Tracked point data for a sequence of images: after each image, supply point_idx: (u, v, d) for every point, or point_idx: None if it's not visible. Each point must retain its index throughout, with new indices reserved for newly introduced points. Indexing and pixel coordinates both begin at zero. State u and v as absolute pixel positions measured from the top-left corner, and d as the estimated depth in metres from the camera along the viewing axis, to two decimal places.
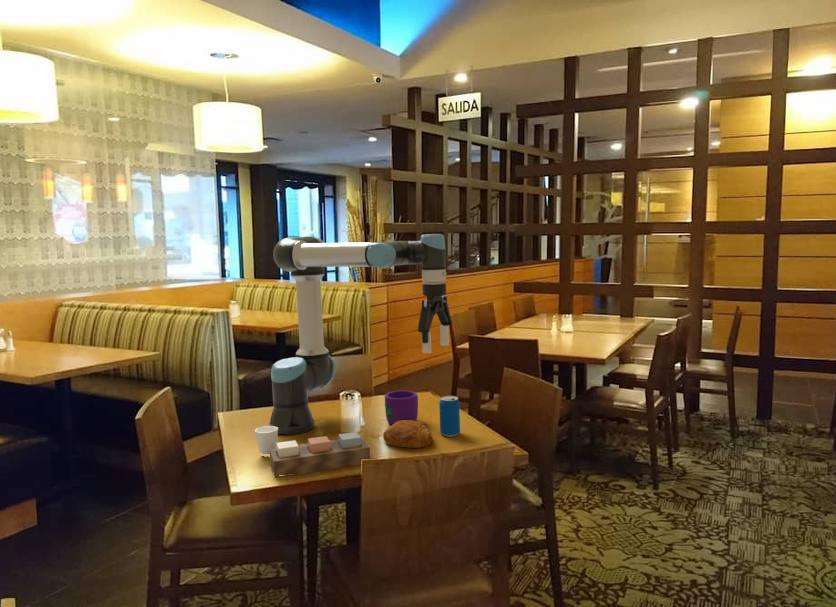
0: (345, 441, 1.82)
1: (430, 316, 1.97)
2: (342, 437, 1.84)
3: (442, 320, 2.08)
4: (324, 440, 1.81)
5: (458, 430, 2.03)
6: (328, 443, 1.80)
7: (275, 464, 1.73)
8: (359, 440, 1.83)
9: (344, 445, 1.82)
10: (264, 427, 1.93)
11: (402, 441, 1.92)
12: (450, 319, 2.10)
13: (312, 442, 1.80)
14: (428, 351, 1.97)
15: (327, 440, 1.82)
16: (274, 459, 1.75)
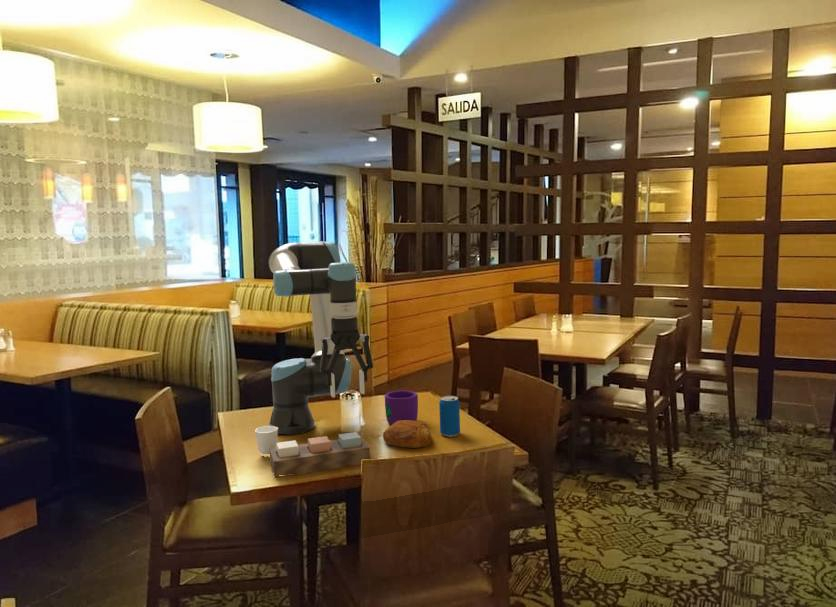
0: (345, 441, 1.82)
1: (333, 356, 1.80)
2: (342, 437, 1.84)
3: (359, 363, 1.84)
4: (324, 440, 1.81)
5: (458, 430, 2.03)
6: (328, 443, 1.80)
7: (275, 464, 1.73)
8: (359, 440, 1.83)
9: (344, 445, 1.82)
10: (264, 427, 1.93)
11: (402, 441, 1.92)
12: (371, 364, 1.84)
13: (312, 442, 1.80)
14: (332, 395, 1.81)
15: (327, 440, 1.82)
16: (274, 459, 1.75)
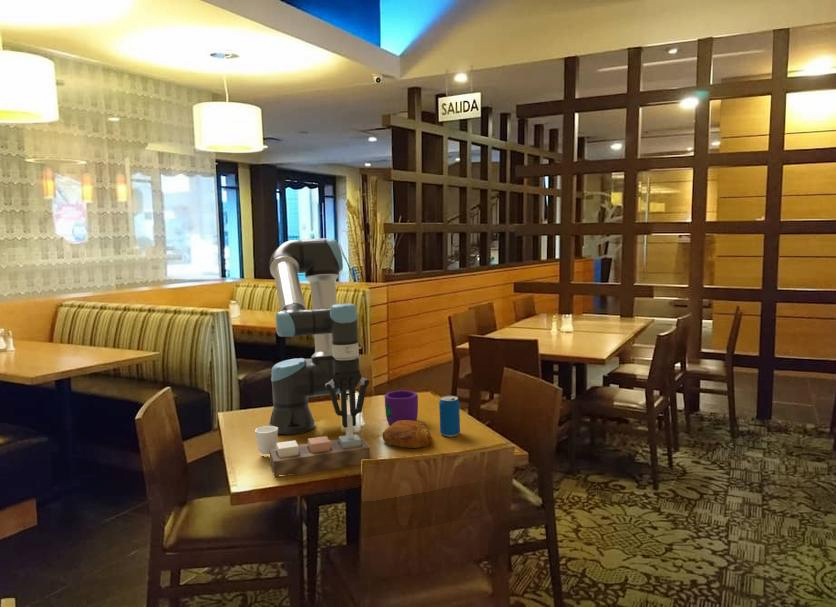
0: (345, 443, 1.82)
1: (342, 398, 1.82)
2: (342, 439, 1.84)
3: (350, 406, 1.84)
4: (324, 440, 1.81)
5: (458, 430, 2.03)
6: (328, 443, 1.80)
7: (275, 464, 1.73)
8: (359, 442, 1.83)
9: (344, 447, 1.82)
10: (264, 427, 1.93)
11: (401, 441, 1.92)
12: (360, 409, 1.84)
13: (312, 442, 1.80)
14: (347, 436, 1.84)
15: (327, 440, 1.82)
16: (274, 459, 1.75)
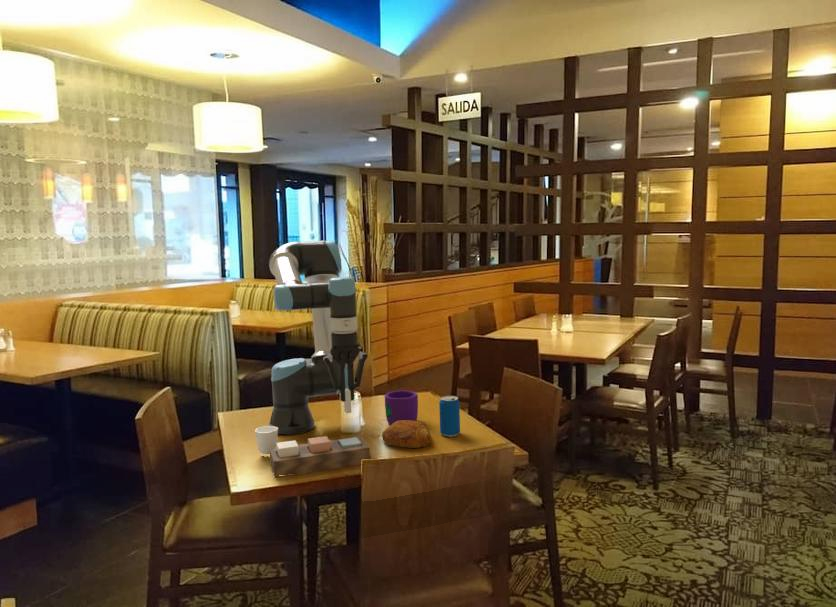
0: (345, 447, 1.82)
1: (340, 372, 1.82)
2: (342, 443, 1.84)
3: (348, 380, 1.84)
4: (324, 440, 1.81)
5: (458, 430, 2.03)
6: (328, 443, 1.80)
7: (275, 464, 1.73)
8: None
9: None
10: (264, 427, 1.93)
11: (401, 441, 1.92)
12: (358, 383, 1.83)
13: (312, 442, 1.80)
14: (345, 410, 1.83)
15: (327, 440, 1.82)
16: (274, 459, 1.75)
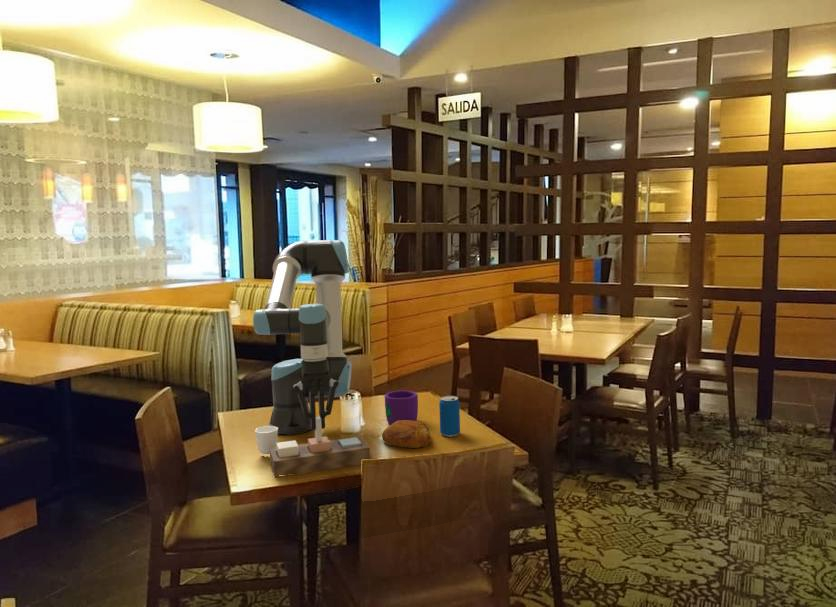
0: (345, 447, 1.82)
1: (310, 400, 1.79)
2: (342, 443, 1.84)
3: (319, 407, 1.81)
4: (324, 441, 1.81)
5: (458, 430, 2.03)
6: (328, 443, 1.80)
7: (275, 464, 1.73)
8: None
9: None
10: (264, 427, 1.93)
11: (400, 441, 1.93)
12: (329, 411, 1.81)
13: (312, 442, 1.80)
14: (316, 439, 1.81)
15: (327, 440, 1.82)
16: (274, 459, 1.75)
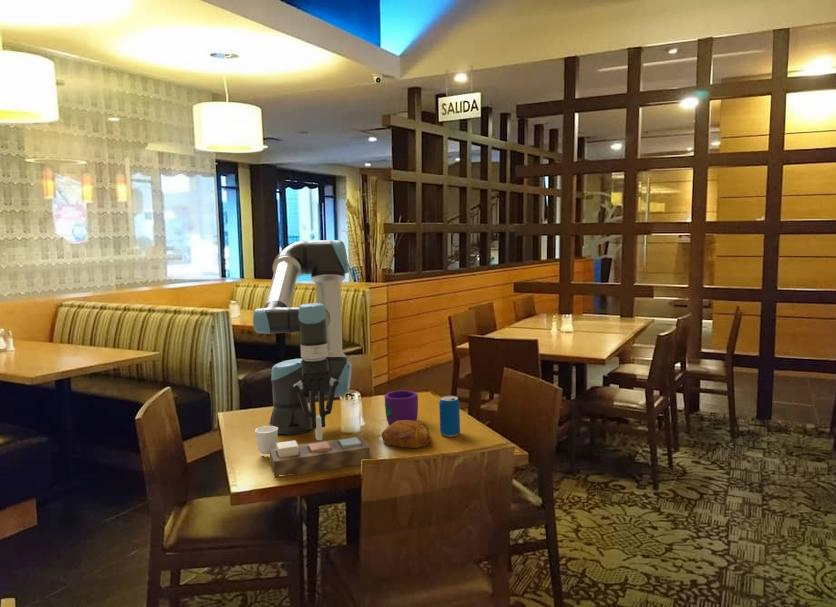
0: (345, 447, 1.82)
1: (310, 399, 1.80)
2: (342, 443, 1.84)
3: (319, 407, 1.82)
4: (324, 446, 1.82)
5: (458, 430, 2.03)
6: (328, 449, 1.81)
7: (275, 464, 1.73)
8: None
9: None
10: (264, 427, 1.93)
11: (400, 441, 1.93)
12: (329, 410, 1.81)
13: (312, 448, 1.81)
14: (316, 437, 1.82)
15: (328, 446, 1.82)
16: (274, 459, 1.75)
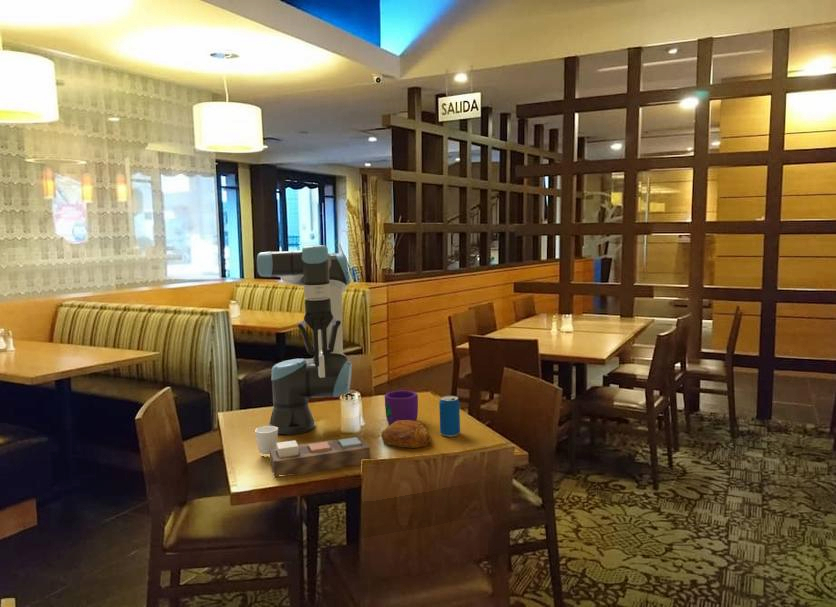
0: (345, 447, 1.82)
1: (313, 338, 1.87)
2: (342, 443, 1.84)
3: (322, 345, 1.89)
4: (324, 446, 1.82)
5: (458, 430, 2.03)
6: (328, 449, 1.81)
7: (275, 464, 1.73)
8: None
9: None
10: (264, 427, 1.93)
11: (400, 441, 1.93)
12: (331, 349, 1.89)
13: (312, 448, 1.81)
14: (319, 375, 1.89)
15: (328, 446, 1.82)
16: (274, 459, 1.75)
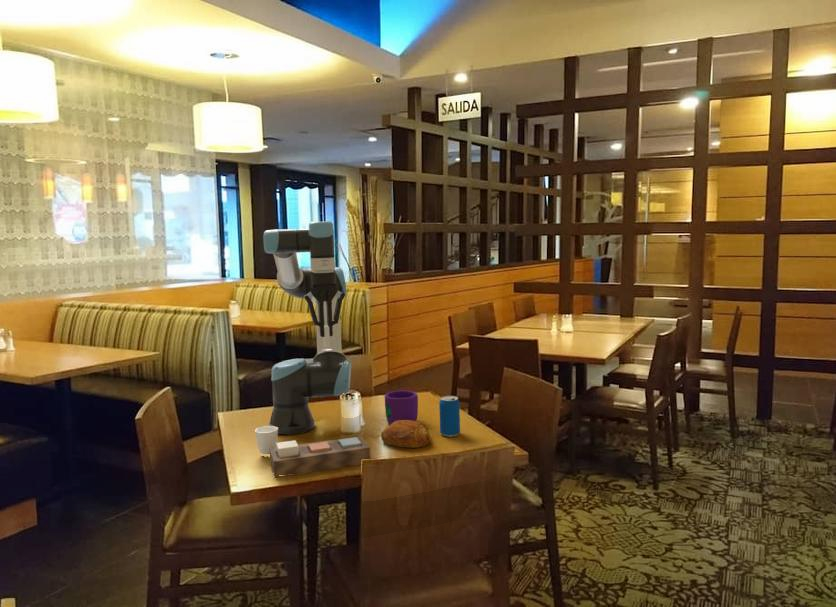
0: (345, 447, 1.82)
1: (319, 309, 1.96)
2: (342, 443, 1.84)
3: (327, 317, 1.98)
4: (324, 446, 1.82)
5: (458, 430, 2.03)
6: (328, 449, 1.81)
7: (275, 464, 1.73)
8: None
9: None
10: (264, 427, 1.93)
11: (399, 441, 1.93)
12: (336, 320, 1.98)
13: (312, 448, 1.81)
14: (325, 345, 1.98)
15: (328, 446, 1.82)
16: (274, 459, 1.75)
